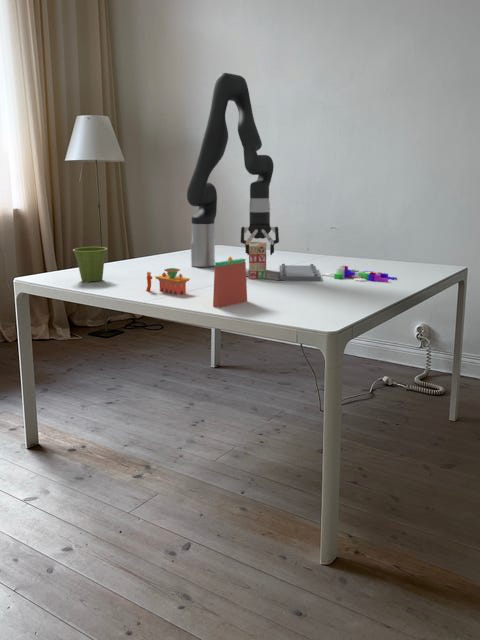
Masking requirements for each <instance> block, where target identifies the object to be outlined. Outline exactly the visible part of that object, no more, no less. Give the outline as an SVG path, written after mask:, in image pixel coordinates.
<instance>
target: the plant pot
mask: <svg viewBox="0 0 480 640" xmlns="http://www.w3.org/2000/svg"><path fill="white" fill-rule="evenodd" d="M107 250H108V248H107V247H104V246H84V247H76V248H74V249H72V251H73V253H74V256H75V258H76V261H77V266H78V270H79V275H80V278H81V281H82V282H87V283H90V282H101V281H103V276H104V266H105V257H106V252H107Z"/></svg>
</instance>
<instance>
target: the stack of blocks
mask: <svg viewBox="0 0 480 640" xmlns="http://www.w3.org/2000/svg"><path fill="white" fill-rule="evenodd" d="M266 278H267V241H250V243H249V255H248V280H266Z"/></svg>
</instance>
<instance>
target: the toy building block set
mask: <svg viewBox="0 0 480 640" xmlns="http://www.w3.org/2000/svg"><path fill="white" fill-rule="evenodd" d="M213 267H214V276H213V300H212V307H213V308H217V307H219V308H222V307H223V306H224V307H228V306H232V305H237V304H241V303H246V301H247V302H248V285H247V268H246V267H247V265H246V258H237V259H233V258H232V256H229V258H227V260H224V261H215V265H214V266H213ZM180 271H181V269H179V268H176V267H170V268H165V269H164V272H163V273H162V274H161V275H157V276H154V278H155V279H156V280H158V281H159V292H163V293H168V294H173V295H178V296H180V295H181V294H182V295H185V294H187V291H186V290H187V289H186V288H187V287H186V286H187V285H186V284H187V282H190V280H191V278H189V277H183V274H181V273H179V274H178V272H180ZM151 274H152V272H151V271H147V272H146V280H147V281H146V282H147V283H146V284H147V286H146V289H145V291H146V292H151V288H152V280H153V275H151ZM227 305H228V306H227ZM224 307H223V308H224Z"/></svg>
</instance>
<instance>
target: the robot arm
mask: <svg viewBox="0 0 480 640" xmlns="http://www.w3.org/2000/svg"><path fill="white" fill-rule="evenodd" d="M250 98H251V97H250V91H249V87H248V84H247V81H246V79H245V78H244V76H242V75H240V74H239V75H238V74H233V73H229V72H222V73H220V74H219V75H218V76H217V78H216V80H215V83H214V87H213V93H212V98H211V105H210V110H209V114H208V120H207V122H206V128H205V131H204V134H203V137H202V142H201V146H200V151H199V154H198V158H197V162H196V164H195V168H194V170H193V174H192V175H191V179H190V181H189V184H188V187H187V191H186V198H187V202H188V203H189V204H190V206H192V207H198V210H197V212H196V213H195V214H193V215H192V216H191V243H190V249H191V250H190V253H191V255H190V256H191V258H190V259H191V260H190V261H191V262H190V263H191V264H190V265H191V267H196V268H209V267H215V266H214V265H215V262H216V260H215V259H216V258H215V257H216V256H215V253H216V250H215V249H216V248H215V247H216V246H215V245H216V244H215V233H216V232H215V219H216V217H217V205H218V204H217V203H218V194H217V193H218V192H217V188H216V186H215V185H214V184H213V183H211V182H208V180H209V177H210V176H211V173H212V172H213V171H214V169H215V168H216V166H218V164H219V162H220V161H221V160H222V159H223V156H224V155H225V152H226V148H227V145H228V141H229V129H228V125H227V122H226V112H227V108H228V105H229V104H228V103H229V102H230V101H231V102H234V104H235V105H236V106H235V107H236V108H237V111H238V121H237V133H238V137H239V139H240V144H241V146H242V149H243V161H244V168H245V170H246V171H247V172H248V174H250V175H252V176H254V175H255V176H257V179H256V180H255V181H253V182H251V183H250V185H249V208H248V209H249V210H248V211H249V226H248V227H246V226H241V227H240V243H241V244H244V246H245V254H247V256H249V245H250V242H252V240H253V239H266V240H268V241H269V243H270V244H269V245H270V247H269V249H270V250H269V251H270V253H269V254H270V255H271V256H272V255H273V254H274V253H275V245H276V244H279V242H280V237H279V227H278V225H277V226H271V219H270V218H271V204H270V203H271V202H270V186H271V182H272V177H273V174H274V167H275V166H274V161H273V159H272V157H271V156H269V155H268V154H258V153H257V151H259V150H260V149H262V145H263V143H262V142H263V141H262V140H261V139H262V138H261V136H260V134H259V131H258V129H257V126H256V122H255V117H254V114H253V107H252V103H251V99H250ZM247 231H248V232H249V233H250V235H249V237H248V238H247V239H246V240H245V234H246V233H247ZM271 231H272V233H274V235H275V238H274V240H273V238H272V237H271V236H270V235H269V234H270V232H271Z"/></svg>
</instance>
